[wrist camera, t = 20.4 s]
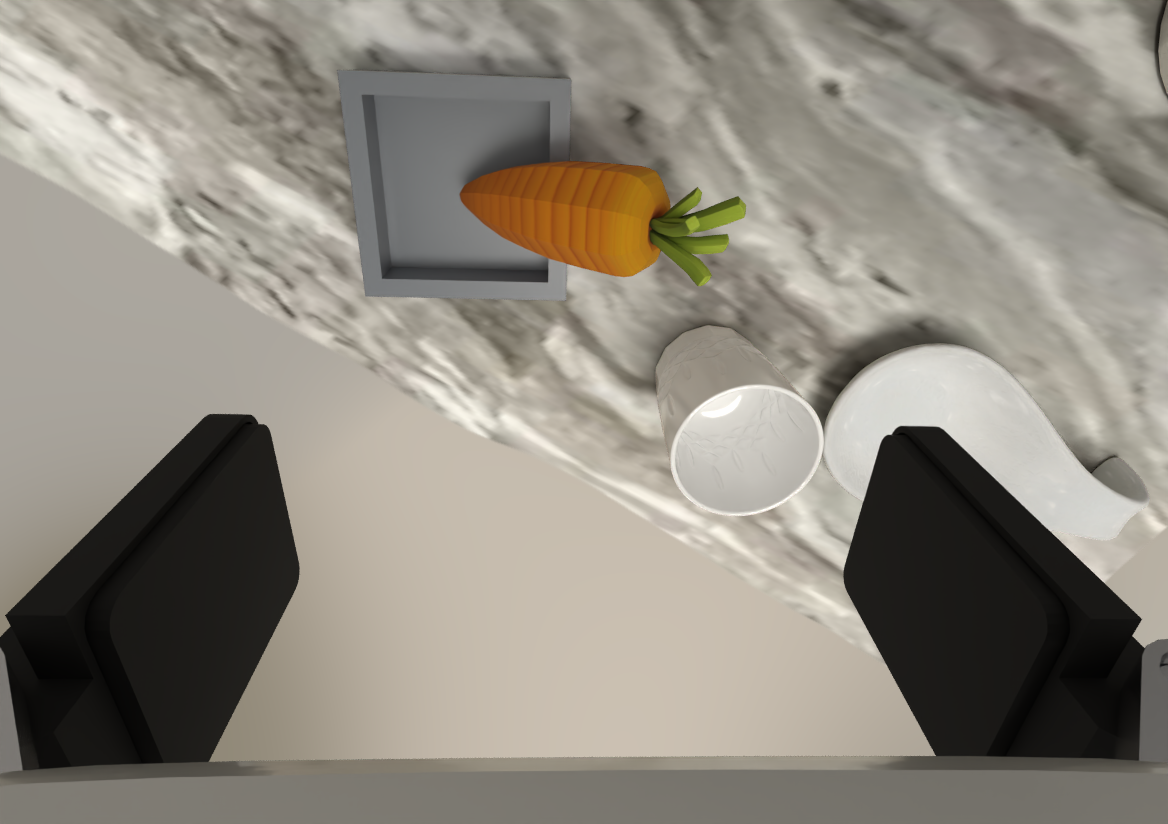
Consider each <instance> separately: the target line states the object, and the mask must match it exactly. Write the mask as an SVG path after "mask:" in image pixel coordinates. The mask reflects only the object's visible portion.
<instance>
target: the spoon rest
mask: <svg viewBox="0 0 1168 824" xmlns="http://www.w3.org/2000/svg"><path fill="white" fill-rule="evenodd" d="M899 426H936V427H940V428H942V429H943V430H945V431H946V432H947V433H948V434H949V435H950V436H951V437H952V438H953V439H954V440H955V441H956V442H957V443H958V444H959V445H960V446H961V447H962V448H963V449H964V450H965V451H967V452H968V453H969V454H970V455H971V456H972V457H973V458H974V459H975V460H976V461H977V462H978V463H979V464H980V465H981V466H982V467H983V468H984V469H985V470H986V471H987V472H988V473H990V474H991V475H992V476H993V477H994V478H995V479H996V480H997V481H998V482H999V483H1000V484H1001V485H1002V486H1003V487H1004V488H1005V489H1006V490H1007V491H1008V492H1009V493H1010V494H1012V495H1013V496H1014V497H1015V498H1016V499H1017V500H1018V501H1019V502H1020V503H1021V504H1022V505H1023V506H1024V507H1025V508H1026V509H1027V510H1028V511H1029V512H1030V513H1031V514H1032V515H1033V516H1035V517H1036V518H1037V519H1038V520H1039V521H1040V522H1041V523H1042V524H1043V525H1044V526H1045V527H1046V528H1047V529H1048V530H1049V531H1054V532H1060V533H1065V534H1069V535H1074V536H1079V537H1083V538H1089V539H1095V540H1111V539H1114V538H1116V537H1117V535H1118V534H1119V533H1120V531H1121V529H1122V528H1123V526H1124V525H1125V524H1126V523H1127V521H1128V520H1129V519H1130V518H1131V517H1132V516H1133V515H1135V514H1136V513H1138V512H1139V511H1141V510H1142V509H1144V508H1145V507H1146V506H1147V505H1148V504H1149V493H1148V490H1147V488H1146V486H1145V484H1144V482H1143V481H1142V479H1141V478H1140V477H1139V476H1138V474H1137V473H1136V472H1135V471H1134V470H1133V469H1132V468H1131V467H1130V466H1129V465H1128V464H1127V463H1126V462H1125V461H1124V460H1122V459H1121V458H1117V457H1115V458H1110V459H1108V460H1107V461H1105V462H1104V463H1102V464H1101V465H1100V466H1099V467H1097V468H1096V469H1095V470H1094V471H1093V472H1092V473H1090V472H1089V471H1087V470H1086V469H1085V467H1084V466H1083V465H1082V464H1081V463H1080V462H1079V461H1078V460H1077V458H1076V457H1075V456H1074V454H1073V453H1072V452H1071V450H1070V449H1069V448H1068V446H1067V445H1066V444H1065V442H1064V441H1063V439H1062V438H1061V436H1060V435H1059V434H1058V432H1057V431H1056V429H1055V428H1054V427H1053V425H1052V424H1051V422H1050V421H1049V419H1048V418H1047V416H1046V415H1045V414H1044V412H1043V411H1042V410H1041V408H1040V407H1039V406H1038V404H1037V403H1036V402H1035V400H1034V399H1033V398H1032V397H1031V395H1030V394H1029V393H1028V392H1027V390H1026V389H1025V388H1024V387H1023V386H1022V385H1021V384H1020V383H1019V381H1018V380H1017V379H1016V378H1015V377H1014V376H1013V375H1012V374H1011V373H1009V372H1008V371H1007V370H1006V369H1005V368H1004V367H1003V366H1001V365H1000V364H999V363H997V362H996V361H994V360H993V359H991V358H990V357H988V356H986V355H984V354H982V353H980V352H978V351H976V350H974V349H971V348H968V347H965V346H961V345H956V344H946V343H935V344H922V345H916V346H911V347H907V348H903V349H900V350H897V351H894V352H892V353H889V354H887V355H885V356H883V357H881V358H879V359H877V360H875V361H874V362H872V363H870V364H869V365H868V366H866V367H865V368H863V369H862V370H861V371H860V372H859V373H858V374H856V376H855V377H854V378H853V379H852V380H851V381H850V382H849V383H848V384H847V385H846V387H845V388H844V389H843V390H842V392H841V393H840V394H839V396H838V397H837V399H836V400H835V402H834V404H833V405H832V407H831V409H830V411H829V414H828V416H827V419H826V422H825V426H824V430H823V436H824V446H823V457H824V460H825V463H826V466H827V468H828V470H829V472H830V473H831V475H832V476H833V478H834V479H835V480H836V481H837V483H838V484H839V485H840V486H841V487H842V488H844V489H845V490H846V491H847V492H848V493H850V494H851V495H852V496H854V497H856V498H857V499H859V500H861V501H864V498H865V495H866V491H867V488H868V484H869V481H870V477H871V474H872V471H873V467H874V464H875V460H876V457H877V453H878V450H879V447H880V444H881V441H882V439H883V438H884V437H885V436H886V435H892V433H893V432H894V430H895V429H896V428H897V427H899Z"/></svg>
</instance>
